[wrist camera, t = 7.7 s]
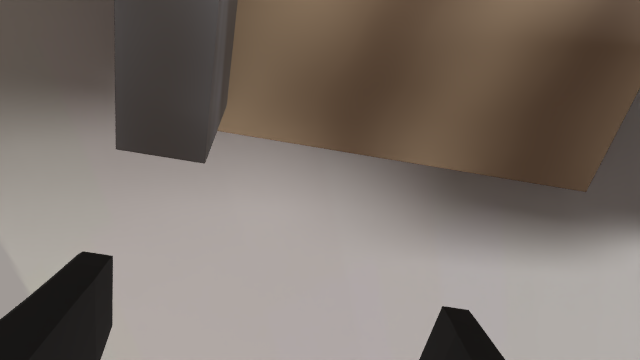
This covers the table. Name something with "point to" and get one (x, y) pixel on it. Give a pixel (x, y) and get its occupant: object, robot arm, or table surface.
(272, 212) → the table surface
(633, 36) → the strip empty
